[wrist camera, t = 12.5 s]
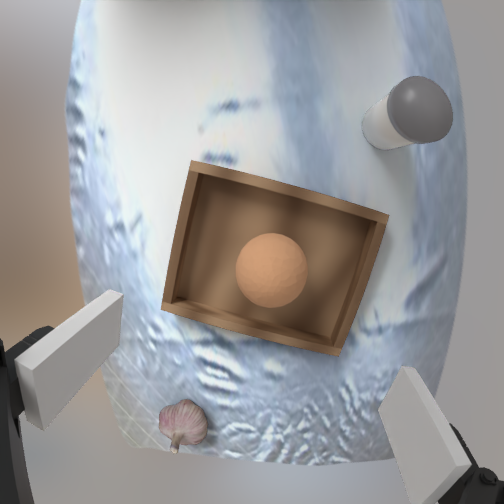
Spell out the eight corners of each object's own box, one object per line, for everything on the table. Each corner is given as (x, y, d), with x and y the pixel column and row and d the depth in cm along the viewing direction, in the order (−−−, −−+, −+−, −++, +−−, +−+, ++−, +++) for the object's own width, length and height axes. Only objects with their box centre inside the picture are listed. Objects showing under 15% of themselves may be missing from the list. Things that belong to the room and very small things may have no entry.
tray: (169, 299, 37) (160, 309, 34) (198, 161, 33) (191, 160, 30) (334, 343, 36) (338, 356, 33) (380, 211, 33) (389, 214, 30)
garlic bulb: (189, 387, 39) (172, 426, 32) (224, 421, 40) (215, 462, 33) (152, 407, 41) (133, 443, 33) (186, 438, 42) (173, 476, 34)
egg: (315, 247, 33) (328, 271, 24) (283, 299, 35) (285, 338, 26) (260, 215, 33) (253, 228, 24) (230, 269, 35) (213, 300, 26)
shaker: (354, 142, 31) (387, 127, 21) (365, 96, 30) (399, 65, 20) (400, 158, 31) (446, 152, 21) (410, 114, 30) (456, 92, 20)
